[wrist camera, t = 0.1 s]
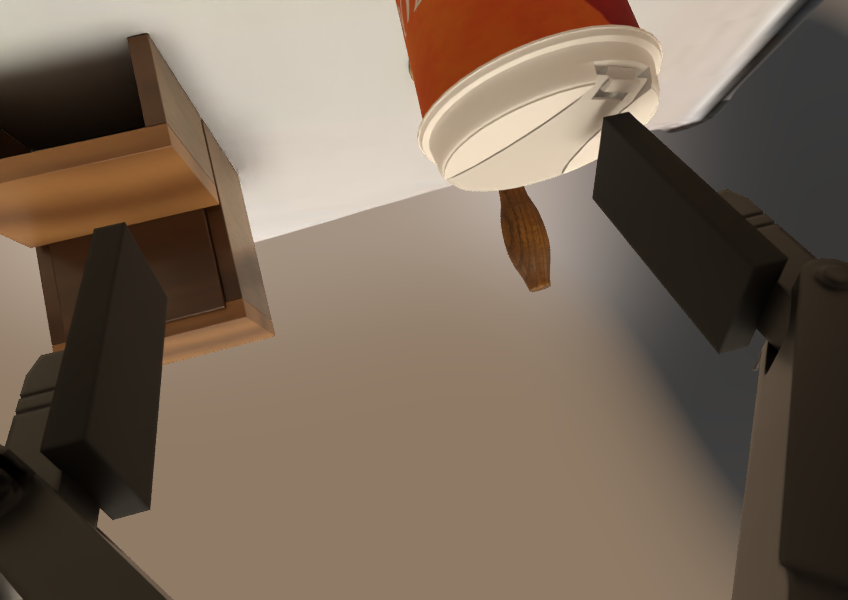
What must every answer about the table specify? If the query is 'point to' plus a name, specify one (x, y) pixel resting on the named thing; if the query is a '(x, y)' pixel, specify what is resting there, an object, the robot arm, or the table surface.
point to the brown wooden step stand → (144, 216)
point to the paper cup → (524, 83)
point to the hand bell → (524, 236)
